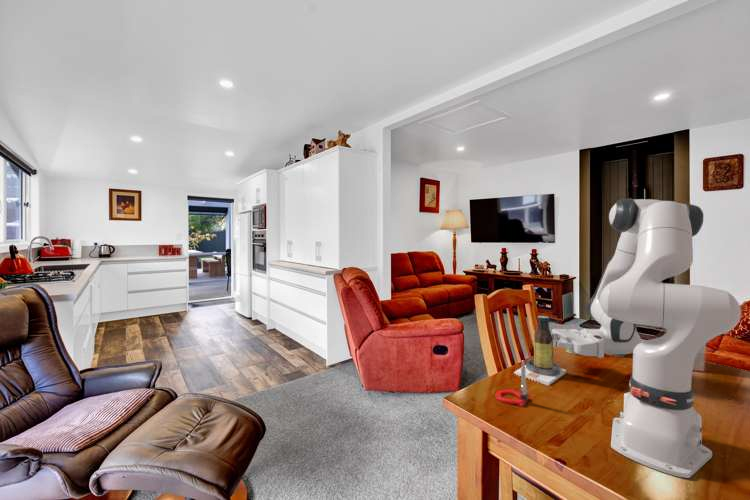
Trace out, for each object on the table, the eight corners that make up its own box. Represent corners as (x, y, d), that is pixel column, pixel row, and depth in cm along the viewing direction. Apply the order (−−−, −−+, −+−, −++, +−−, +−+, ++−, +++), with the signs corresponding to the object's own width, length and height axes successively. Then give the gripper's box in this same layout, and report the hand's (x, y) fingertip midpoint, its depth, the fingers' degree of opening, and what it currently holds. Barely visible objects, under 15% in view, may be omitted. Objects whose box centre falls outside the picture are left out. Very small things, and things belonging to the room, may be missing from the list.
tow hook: (491, 400, 103) (522, 409, 97) (490, 359, 103) (521, 365, 97) (501, 390, 109) (531, 398, 103) (499, 352, 109) (529, 357, 103)
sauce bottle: (556, 373, 119) (557, 319, 118) (539, 373, 119) (539, 319, 118) (547, 366, 125) (548, 314, 125) (530, 366, 126) (531, 314, 125)
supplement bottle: (577, 350, 146) (577, 328, 146) (582, 354, 141) (583, 332, 140) (564, 349, 147) (564, 328, 146) (569, 354, 142) (569, 331, 141)
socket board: (548, 385, 112) (548, 376, 112) (514, 374, 121) (514, 366, 121) (566, 372, 122) (566, 364, 122) (533, 363, 131) (533, 355, 131)
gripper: (574, 325, 131) (538, 324, 132) (607, 341, 111) (564, 340, 112) (574, 340, 132) (538, 340, 133) (606, 359, 111) (564, 358, 112)
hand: (550, 340), depth 122 cm, fingers open, 8 cm apart
